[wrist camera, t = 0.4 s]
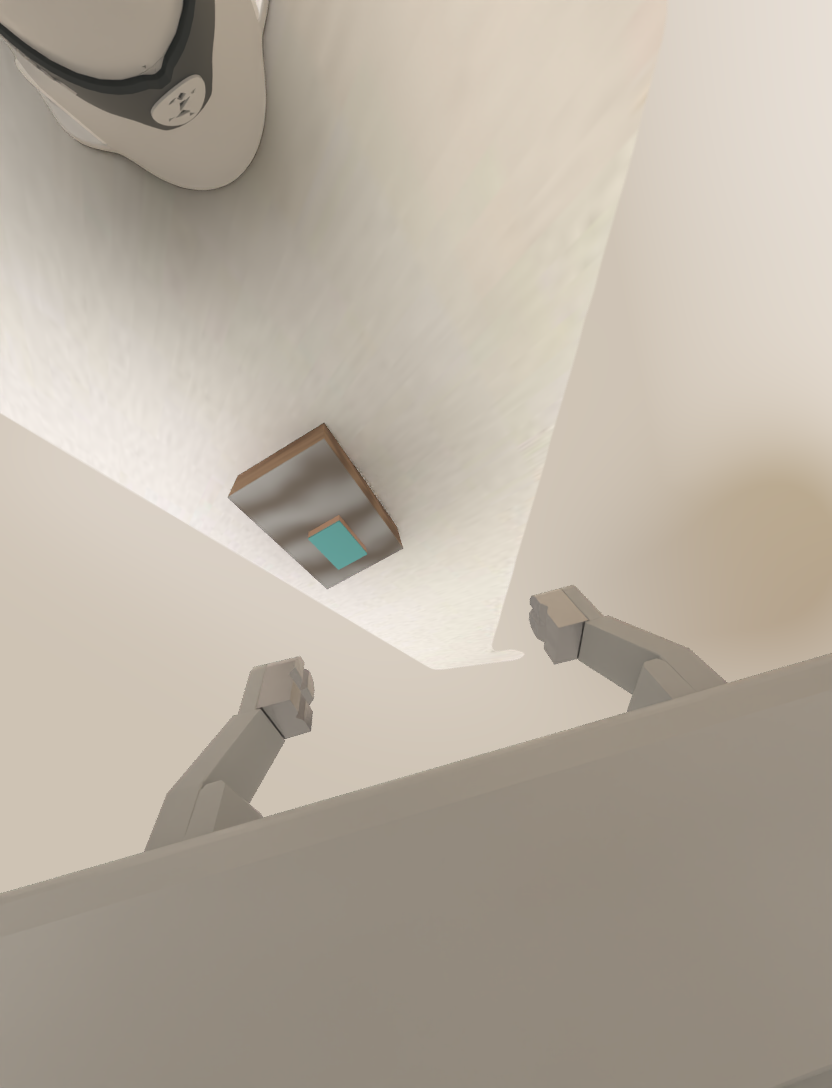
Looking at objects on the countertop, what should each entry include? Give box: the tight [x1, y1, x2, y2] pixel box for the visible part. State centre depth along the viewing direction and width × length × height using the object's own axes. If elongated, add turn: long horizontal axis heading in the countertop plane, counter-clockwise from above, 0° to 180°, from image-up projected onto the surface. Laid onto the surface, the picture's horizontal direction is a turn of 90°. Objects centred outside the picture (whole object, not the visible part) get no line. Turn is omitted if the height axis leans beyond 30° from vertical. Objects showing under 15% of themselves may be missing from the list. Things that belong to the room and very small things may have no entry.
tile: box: [308, 515, 367, 570], centre depth 46 cm, size 7×5×2 cm
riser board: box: [228, 423, 403, 589], centre depth 47 cm, size 20×14×6 cm
